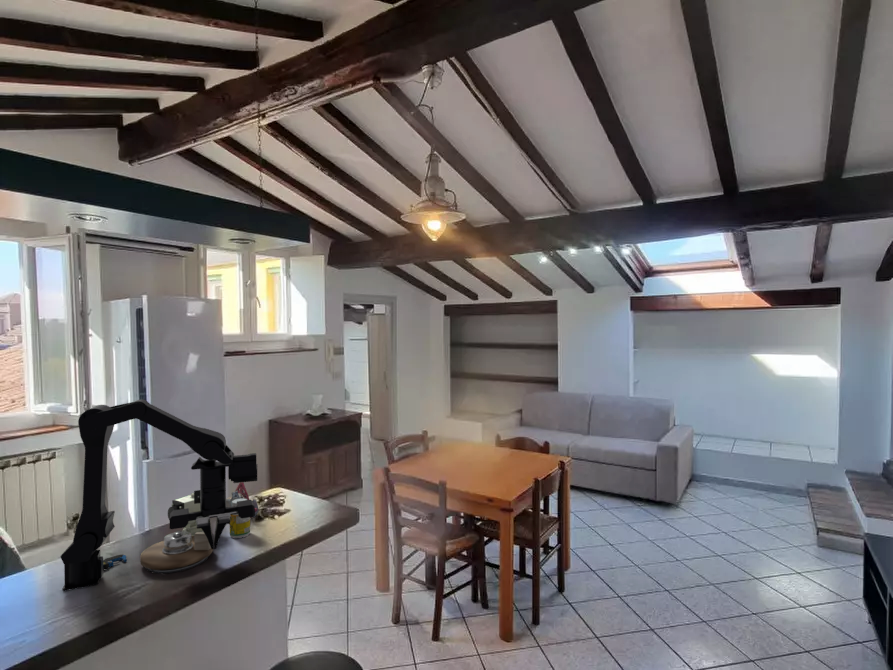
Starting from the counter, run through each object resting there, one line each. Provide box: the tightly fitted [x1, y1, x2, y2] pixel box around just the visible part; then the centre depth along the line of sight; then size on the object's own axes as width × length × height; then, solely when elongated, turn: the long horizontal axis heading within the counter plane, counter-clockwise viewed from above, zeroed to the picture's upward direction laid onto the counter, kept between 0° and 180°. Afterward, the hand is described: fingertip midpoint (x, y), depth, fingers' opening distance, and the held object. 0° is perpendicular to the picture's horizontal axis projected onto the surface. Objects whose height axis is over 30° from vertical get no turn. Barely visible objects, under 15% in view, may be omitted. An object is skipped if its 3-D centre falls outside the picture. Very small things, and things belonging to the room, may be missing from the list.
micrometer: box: [103, 553, 128, 571], centre depth 123 cm, size 12×2×5 cm
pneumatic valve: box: [167, 492, 203, 536], centre depth 141 cm, size 6×12×12 cm, turn 148°
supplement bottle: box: [229, 499, 251, 539], centre depth 142 cm, size 5×5×10 cm
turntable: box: [140, 532, 214, 570], centre depth 126 cm, size 16×16×5 cm
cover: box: [162, 530, 193, 555], centre depth 127 cm, size 7×7×4 cm
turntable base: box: [145, 555, 210, 575], centre depth 126 cm, size 14×14×1 cm
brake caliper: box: [226, 482, 260, 519], centre depth 154 cm, size 11×11×12 cm
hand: (213, 548), depth 125 cm, fingers closed
